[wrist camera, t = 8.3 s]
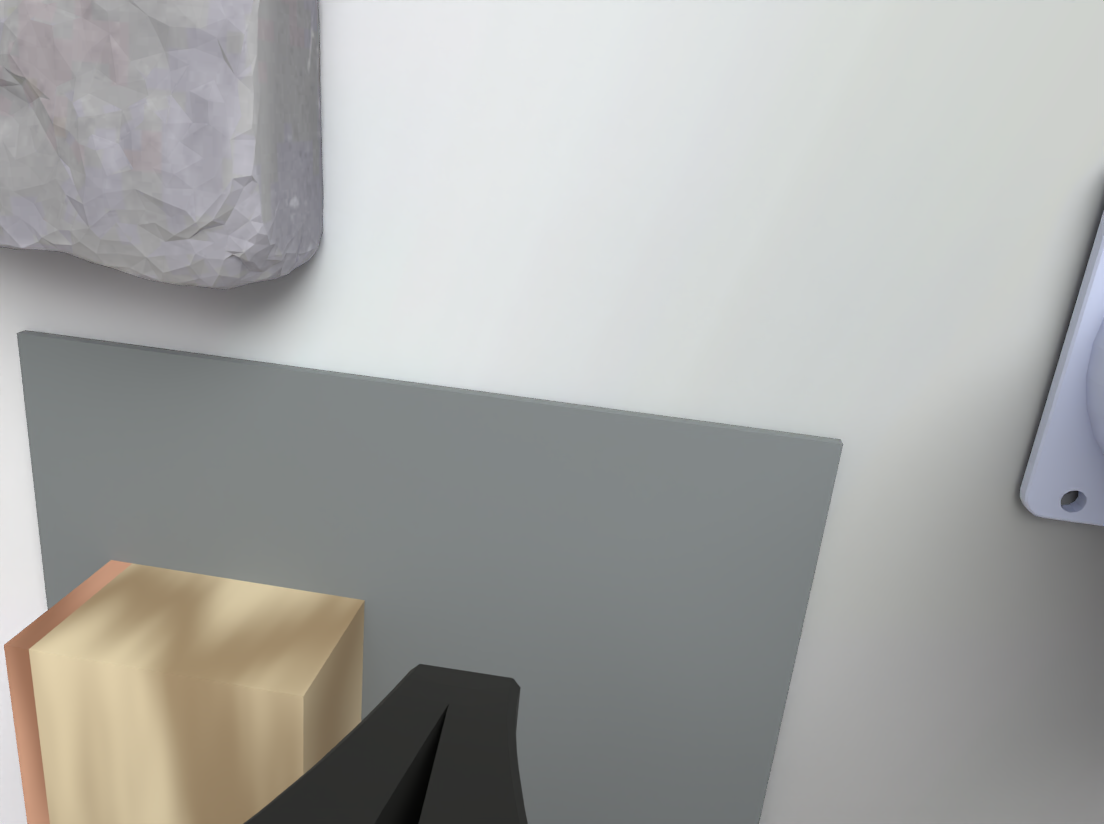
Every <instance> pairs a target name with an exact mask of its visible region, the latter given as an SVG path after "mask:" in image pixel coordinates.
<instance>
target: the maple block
mask: <svg viewBox="0 0 1104 824" xmlns="http://www.w3.org/2000/svg"><path fill="white" fill-rule="evenodd" d="M364 603H365V600H360V599H354V598H347V597H341V596H335V595H328V594H322V593H316V592H309V591H303V590H297V589H291V588H284V587H278V586H272V585H265V584H259V583H253V582H247V581H240V580H234V579H228V578H221V577H215V576H209V575H203V574H196V573H190V572H184V571H177V570H171V569H165V568H159V567H152V566H146V565H140V564H133V563H127V562H121V561H115V560H110V561H109V562H108V563H107V564H105V565H104V566H103V567H102V568H100V569H99V570H98V571H97V572H95V573H94V574H93V575H92V576H90V577H89V578H88V579H87V580H85V581H84V582H83V583H82V584H80V585H79V586H78V587H76V588H75V589H74V590H73V591H71V592H70V593H69V594H68V595H66V596H65V597H64V598H63V599H61V600H60V601H59V602H58V603H56V604H55V605H54V606H53V607H51V608H50V609H49V610H48V611H46V612H45V613H44V614H43V615H41V616H40V617H39V618H37V619H36V620H35V621H34V622H32V623H31V624H30V625H29V626H27V627H26V628H25V629H24V630H22V631H21V632H20V633H19V634H17V635H16V636H15V637H14V638H12V639H11V640H10V641H9V642H7V643H6V644H5V645H4V650H5V657H6V665H7V673H8V680H9V688H10V695H11V703H12V710H13V718H14V725H15V733H16V740H17V748H18V756H19V763H20V771H21V778H22V786H23V793H24V801H25V808H26V816H27V824H243V823H245V822H246V821H247V820H249V819H250V818H251V817H253V816H254V815H255V814H256V813H258V812H259V811H260V810H262V809H263V808H264V807H265V806H266V805H268V804H269V803H270V802H271V801H272V800H274V799H275V798H276V797H277V796H278V795H280V794H281V793H282V792H283V791H284V790H286V789H287V788H288V787H289V786H290V785H292V784H293V783H294V782H295V781H296V780H298V779H299V778H300V777H301V776H302V775H304V774H305V773H306V772H307V771H308V770H309V769H311V768H312V767H313V766H314V765H315V764H316V763H317V762H318V761H320V760H321V759H322V758H323V757H324V756H325V755H326V754H327V753H328V752H329V751H330V750H331V749H332V748H334V747H335V746H336V745H337V744H338V743H339V742H340V741H341V740H342V739H343V738H344V737H345V736H346V735H348V734H349V733H350V732H351V731H352V730H353V729H354V728H355V727H356V726H357V725H358V724H359V723H360V722H361V710H362V674H363V639H364Z"/></svg>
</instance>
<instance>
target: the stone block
mask: <svg viewBox="0 0 1104 824" xmlns="http://www.w3.org/2000/svg"><path fill="white" fill-rule="evenodd" d="M321 148H322V141H321V104H320V52H319V14H318V0H0V247H6V248H11V249H16V250H20V249H37V250H49V251H58V252H66V253H68V254H70V255H72V256H75V257H78V258H81V259H83V260H86V261H89V262H92V263H95V264H99V265H103V266H106V267H110V268H114V269H117V270H119V271H122V272H125V273H128V274H131V275H134V276H137V277H140V278H144V279H147V280H151V281H157V282H163V283H170V284H176V285H188V286H200V287H207V288H216V289H232V288H235V287H239V286H242V285H246V284H249V283H254V282H261V281H268V280H272V279H276V278H279V277H282V276H285V275H288V274H289V273H290V272H291V271H292V270H293V269H295V268H296V267H298V266H300V265H302V264H303V263H305V262H307V261H309V260H310V259H311V257H312V256H313V255H314V254H315V252H316V251H317V250H318V247H319V243H320V239H321V236H322V223H323V179H322V149H321Z"/></svg>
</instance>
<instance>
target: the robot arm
mask: <svg viewBox="0 0 1104 824" xmlns="http://www.w3.org/2000/svg"><path fill="white" fill-rule="evenodd" d="M1075 490H1078V491H1079V496H1078V497H1077V499H1076V500H1075V501H1074V502H1073V503H1071V504H1068V505H1061V499H1062V497H1063V496H1064V494H1066V493H1068V492H1069V491H1075ZM1020 499H1021V501H1022V503H1023V505H1024V506H1025V507H1026V508H1027V509H1028V510H1029V511H1030V512H1031V513H1032V514H1033V515H1035V516H1038V517H1042V518H1047V519H1055V520H1062V521H1069V522H1076V523H1083V524H1091V525H1098V526H1104V211H1103V215H1102V218H1101V221H1100V225H1099V228H1098V231H1097V235H1096V238H1095V241H1094V245H1093V248H1092V251H1091V255H1090V258H1089V261H1088V265H1087V268H1086V271H1085V275H1084V278H1083V281H1082V284H1081V288H1080V291H1079V294H1078V298H1077V301H1076V304H1075V308H1074V311H1073V314H1072V318H1071V321H1070V324H1069V328H1068V331H1067V334H1066V338H1065V341H1064V344H1063V348H1062V351H1061V354H1060V358H1059V361H1058V364H1057V368H1056V371H1055V374H1054V378H1053V381H1052V384H1051V388H1050V391H1049V394H1048V398H1047V401H1046V404H1045V408H1044V411H1043V414H1042V418H1041V421H1040V424H1039V428H1038V431H1037V434H1036V438H1035V441H1034V444H1033V448H1032V451H1031V454H1030V458H1029V461H1028V464H1027V468H1026V471H1025V474H1024V478H1023V481H1022V484H1021V488H1020ZM520 688H521V687H520V686H519V685H518V684H517V682H516V681H515V680H514V679H513V678H509V677H503V676H496V675H490V674H483V673H477V672H470V671H464V670H457V669H451V668H444V667H438V666H431V665H425V664H419V665H417V666H416V667H414V668H413V669H411V670H410V671H409V672H408V673H407V675H406V676H405V677H404V678H403V679H402V680H401V681H400V682H399V683H398V684H397V685H396V686H395V687H394V689H393V690H392V691H391V692H390V693H389V694H388V695H387V696H386V697H385V698H384V699H383V700H382V701H381V702H380V703H379V704H378V705H377V706H376V707H375V708H374V709H373V710H372V711H371V712H370V713H369V714H368V715H367V716H366V717H365V718H364V719H363V720H362V721H361V722H360V723H359V724H358V725H357V726H356V727H355V728H354V729H353V730H352V731H351V732H350V733H349V734H348V735H346V736H345V737H344V738H343V739H342V740H341V741H340V742H339V743H338V744H337V745H336V746H335V747H334V748H332V749H331V750H330V751H329V752H328V753H327V754H326V755H325V756H324V757H323V758H322V759H321V760H320V761H318V762H317V763H316V764H315V765H314V766H313V767H312V768H311V769H309V770H308V771H307V772H306V773H305V774H304V775H302V776H301V777H300V778H299V779H298V780H296V781H295V782H294V783H293V784H292V785H290V786H289V787H288V788H287V789H286V790H284V791H283V792H282V793H281V794H280V795H278V796H277V797H276V798H275V799H274V800H272V801H271V802H270V803H269V804H268V805H266V806H265V807H264V808H263V809H262V810H260V811H259V812H258V813H256V814H255V815H254V816H253V817H251V818H250V819H249V820H247V821H246V822H245V823H243V824H528V822H527V817H526V812H525V807H524V800H523V794H522V787H521V780H520V774H519V766H518V757H517V743H516V728H517V718H518V708H519V698H520Z"/></svg>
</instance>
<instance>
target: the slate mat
mask: <svg viewBox="0 0 1104 824" xmlns="http://www.w3.org/2000/svg"><path fill="white" fill-rule="evenodd" d="M17 338H18V347H19V356H20V365H21V374H22V383H23V392H24V401H25V410H26V418H27V427H28V436H29V445H30V454H31V463H32V472H33V481H34V490H35V499H36V508H37V517H38V526H39V535H40V544H41V553H42V562H43V571H44V580H45V589H46V598H47V607H48V610H49V609H50V608H51V607H53V606H54V605H55V604H56V603H58V602H59V601H60V600H61V599H63V598H64V597H65V596H66V595H68V594H69V593H70V592H71V591H73V590H74V589H75V588H76V587H78V586H79V585H80V584H82V583H83V582H84V581H85V580H87V579H88V578H89V577H90V576H92V575H93V574H94V573H95V572H97V571H98V570H99V569H100V568H102V567H103V566H104V565H105V564H107V563H108V562H109V561H110V560H115V561H121V562H127V563H133V564H140V565H146V566H152V567H159V568H165V569H171V570H177V571H184V572H190V573H196V574H203V575H209V576H215V577H221V578H228V579H234V580H240V581H247V582H253V583H259V584H265V585H272V586H278V587H284V588H291V589H297V590H303V591H309V592H316V593H322V594H328V595H335V596H341V597H347V598H354V599H360V600H365V603H364V639H363V674H362V710H361V721H362V720H363V719H364V718H365V717H366V716H367V715H368V714H369V713H370V712H371V711H372V710H373V709H374V708H375V707H376V706H377V705H378V704H379V703H380V702H381V701H382V700H383V699H384V698H385V697H386V696H387V695H388V694H389V693H390V692H391V691H392V690H393V689H394V687H395V686H396V685H397V684H398V683H399V682H400V681H401V680H402V679H403V678H404V677H405V676H406V675H407V673H408V672H409V671H410V670H411V669H413V668H414V667H416V666H417V665H419V664H425V665H431V666H438V667H444V668H451V669H457V670H464V671H470V672H477V673H483V674H490V675H496V676H503V677H509V678H513V679H514V680H515V681H516V682H517V684H518V685H519V686H520V687H521V688H520V698H519V708H518V718H517V728H516V743H517V757H518V766H519V774H520V780H521V787H522V794H523V800H524V807H525V812H526V817H527V822H528V824H759V820H760V816H761V811H762V807H763V802H764V798H765V793H766V789H767V784H768V780H769V775H770V771H771V766H772V762H773V757H774V753H775V748H776V744H777V739H778V735H779V730H780V726H781V721H782V717H783V712H784V708H785V703H786V699H787V694H788V690H789V685H790V681H791V676H792V672H793V667H794V663H795V658H796V654H797V649H798V645H799V640H800V636H801V631H802V627H803V622H804V618H805V613H806V609H807V604H808V600H809V595H810V591H811V586H812V582H813V577H814V573H815V568H816V564H817V559H818V555H819V550H820V546H821V541H822V537H823V532H824V528H825V523H826V519H827V514H828V510H829V505H830V500H831V496H832V491H833V487H834V482H835V478H836V473H837V469H838V464H839V460H840V455H841V451H842V446H843V443H842V441H841V440H840V439H833V438H825V437H818V436H810V435H803V434H795V433H788V432H780V431H773V430H765V429H758V428H751V427H743V426H736V425H728V424H721V423H713V422H706V421H698V420H691V419H683V418H676V417H668V416H661V415H653V414H646V413H639V412H631V411H624V410H616V409H609V408H601V407H594V406H586V405H579V404H571V403H564V402H556V401H549V400H541V399H534V398H526V397H519V396H512V395H504V394H497V393H489V392H482V391H474V390H467V389H459V388H452V387H444V386H437V385H429V384H422V383H414V382H407V381H400V380H392V379H385V378H377V377H370V376H362V375H355V374H347V373H340V372H332V371H325V370H317V369H310V368H302V367H295V366H287V365H280V364H273V363H265V362H258V361H250V360H243V359H235V358H228V357H220V356H213V355H205V354H198V353H190V352H183V351H175V350H168V349H161V348H153V347H146V346H138V345H131V344H123V343H116V342H108V341H101V340H93V339H86V338H78V337H71V336H63V335H56V334H49V333H41V332H34V331H26V330H25V331H22V332H19V333H17Z"/></svg>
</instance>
